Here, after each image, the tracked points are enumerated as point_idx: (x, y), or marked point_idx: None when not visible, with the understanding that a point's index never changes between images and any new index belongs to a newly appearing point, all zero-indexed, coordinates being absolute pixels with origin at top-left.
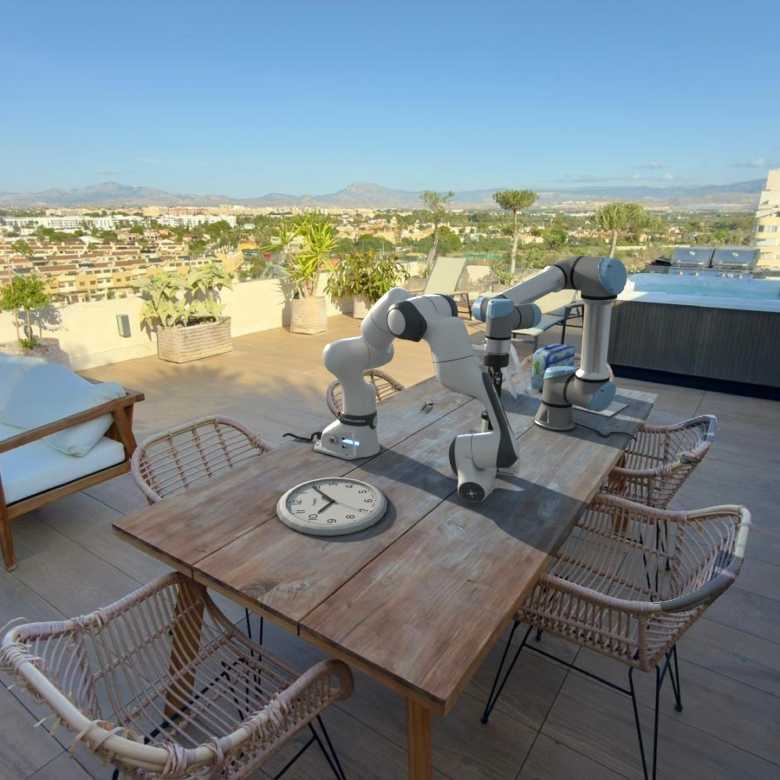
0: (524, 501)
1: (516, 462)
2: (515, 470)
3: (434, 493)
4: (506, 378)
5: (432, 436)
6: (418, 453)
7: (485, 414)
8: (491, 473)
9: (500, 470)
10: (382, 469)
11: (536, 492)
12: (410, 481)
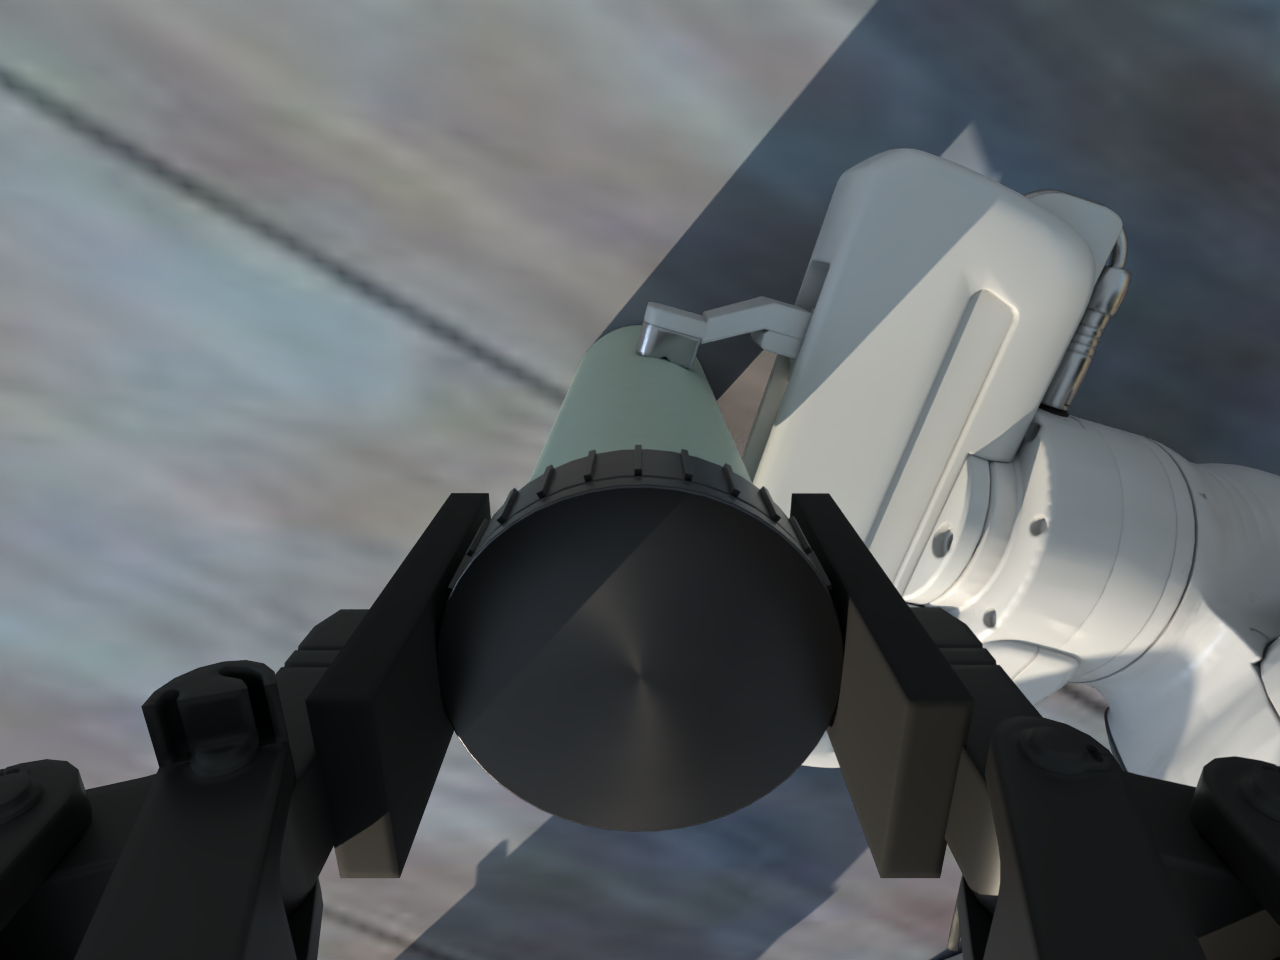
0: (1155, 175)
1: (1046, 218)
2: (1104, 240)
3: None
4: None
5: (113, 727)
6: (437, 805)
7: (755, 789)
8: (1256, 501)
9: (1080, 385)
10: (688, 956)
11: (1026, 35)
12: (830, 837)
